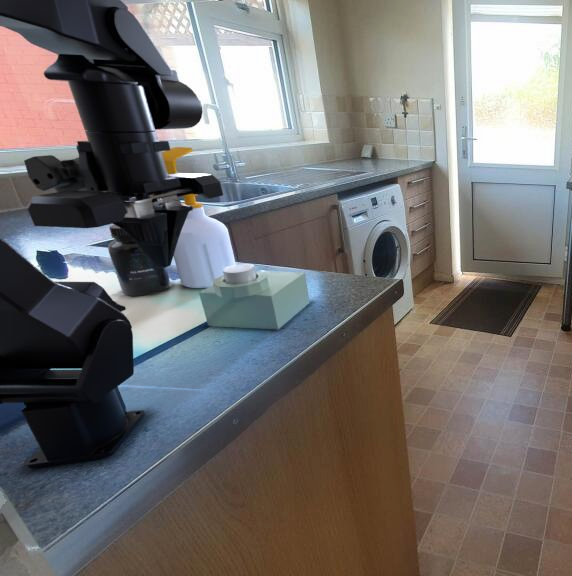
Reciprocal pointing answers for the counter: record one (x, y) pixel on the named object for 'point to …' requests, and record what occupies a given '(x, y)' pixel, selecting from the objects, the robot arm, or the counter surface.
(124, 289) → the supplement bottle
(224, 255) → the soap bottle
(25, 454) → the counter surface
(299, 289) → the push button box
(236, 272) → the flush button
